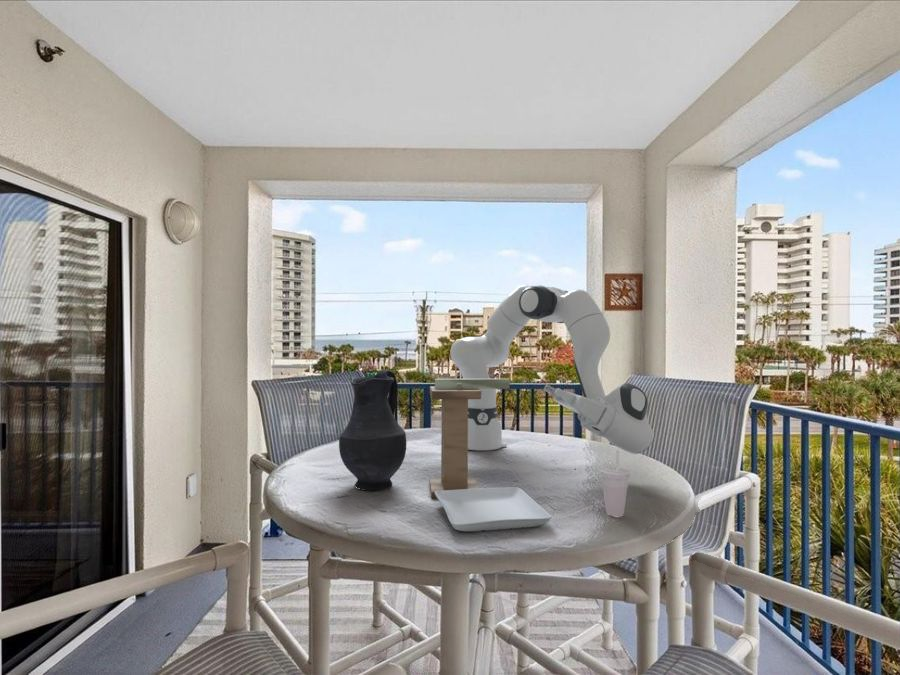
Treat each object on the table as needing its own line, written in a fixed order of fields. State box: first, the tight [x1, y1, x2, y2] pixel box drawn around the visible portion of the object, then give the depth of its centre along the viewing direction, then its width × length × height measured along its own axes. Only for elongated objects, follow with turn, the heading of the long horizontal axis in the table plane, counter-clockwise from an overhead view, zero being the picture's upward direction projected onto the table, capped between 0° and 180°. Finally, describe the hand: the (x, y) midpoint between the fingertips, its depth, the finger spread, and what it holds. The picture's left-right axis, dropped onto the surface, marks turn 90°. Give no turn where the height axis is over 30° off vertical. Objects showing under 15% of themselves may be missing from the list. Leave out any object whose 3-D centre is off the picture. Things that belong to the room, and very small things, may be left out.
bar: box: [434, 378, 511, 390], centre depth 131 cm, size 2×19×2 cm, turn 95°
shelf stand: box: [428, 383, 481, 499], centre depth 131 cm, size 12×12×28 cm
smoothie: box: [599, 450, 631, 516], centre depth 114 cm, size 6×6×14 cm
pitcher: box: [338, 369, 407, 491], centre depth 136 cm, size 17×21×30 cm
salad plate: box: [435, 486, 552, 532], centre depth 113 cm, size 21×21×3 cm
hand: (550, 388), depth 133 cm, fingers open, 8 cm apart
